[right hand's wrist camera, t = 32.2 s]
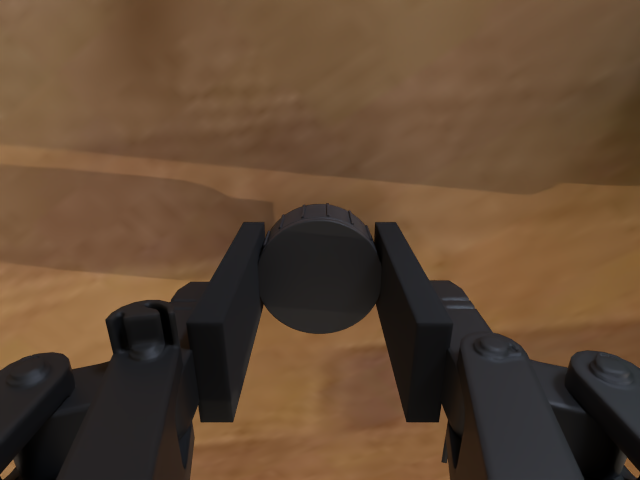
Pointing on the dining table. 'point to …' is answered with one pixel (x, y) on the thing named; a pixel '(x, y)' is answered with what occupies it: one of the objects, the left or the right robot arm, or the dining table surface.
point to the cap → (319, 269)
